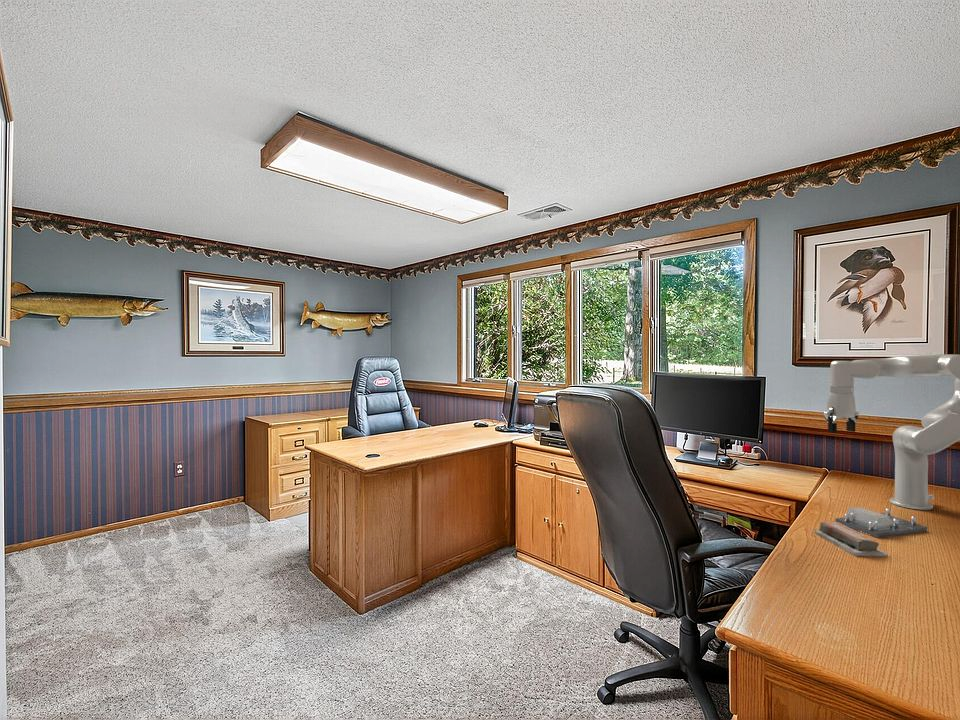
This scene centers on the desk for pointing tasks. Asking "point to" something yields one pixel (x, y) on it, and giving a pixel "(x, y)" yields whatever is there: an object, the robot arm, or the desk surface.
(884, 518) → the block
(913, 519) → the tray
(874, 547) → the packaged product
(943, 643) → the desk surface
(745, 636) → the desk surface
